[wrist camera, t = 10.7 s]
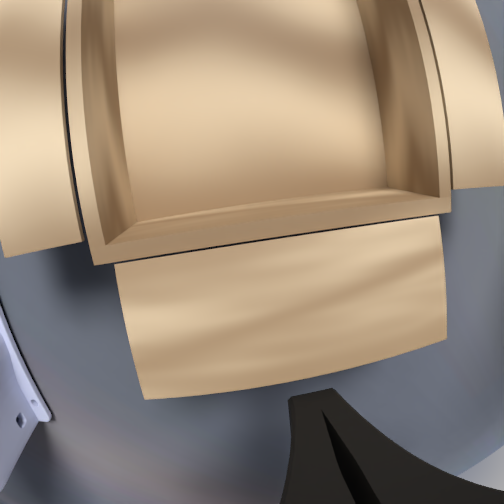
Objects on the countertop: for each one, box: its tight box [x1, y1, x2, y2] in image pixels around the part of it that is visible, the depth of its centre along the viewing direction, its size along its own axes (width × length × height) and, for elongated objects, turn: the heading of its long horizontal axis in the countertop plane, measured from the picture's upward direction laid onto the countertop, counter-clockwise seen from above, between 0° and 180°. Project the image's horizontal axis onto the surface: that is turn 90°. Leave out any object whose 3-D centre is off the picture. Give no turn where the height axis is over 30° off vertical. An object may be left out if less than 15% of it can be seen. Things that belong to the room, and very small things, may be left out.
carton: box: [0, 0, 504, 266], centre depth 9 cm, size 14×18×4 cm
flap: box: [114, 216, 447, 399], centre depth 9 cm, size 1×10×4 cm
